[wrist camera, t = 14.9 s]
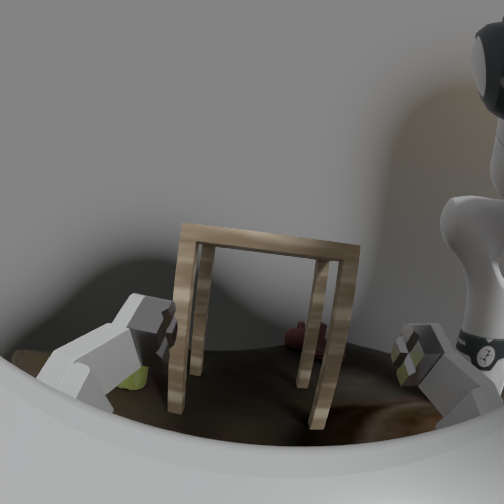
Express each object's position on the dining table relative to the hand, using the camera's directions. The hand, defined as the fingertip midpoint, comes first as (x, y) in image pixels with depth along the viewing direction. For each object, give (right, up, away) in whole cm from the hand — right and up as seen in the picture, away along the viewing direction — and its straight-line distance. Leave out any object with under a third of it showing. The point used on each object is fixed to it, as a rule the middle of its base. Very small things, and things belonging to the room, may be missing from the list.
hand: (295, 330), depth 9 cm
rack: (-2, -21, +31) cm, 37 cm away
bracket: (+15, -24, +56) cm, 63 cm away
